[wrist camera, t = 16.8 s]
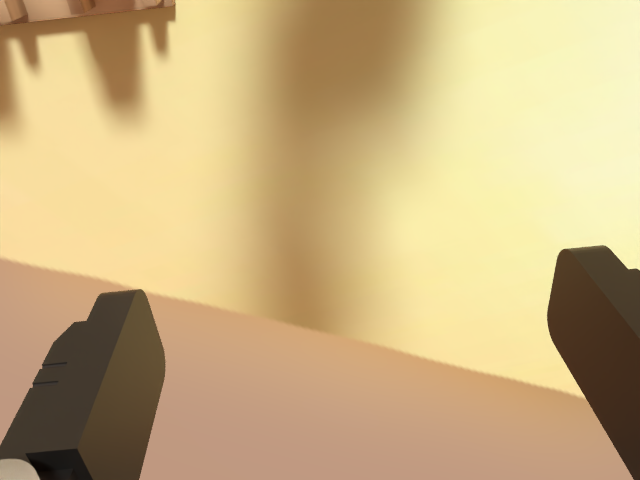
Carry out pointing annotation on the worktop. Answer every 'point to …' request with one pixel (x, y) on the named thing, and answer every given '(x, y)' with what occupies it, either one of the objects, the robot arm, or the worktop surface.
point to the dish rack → (69, 8)
